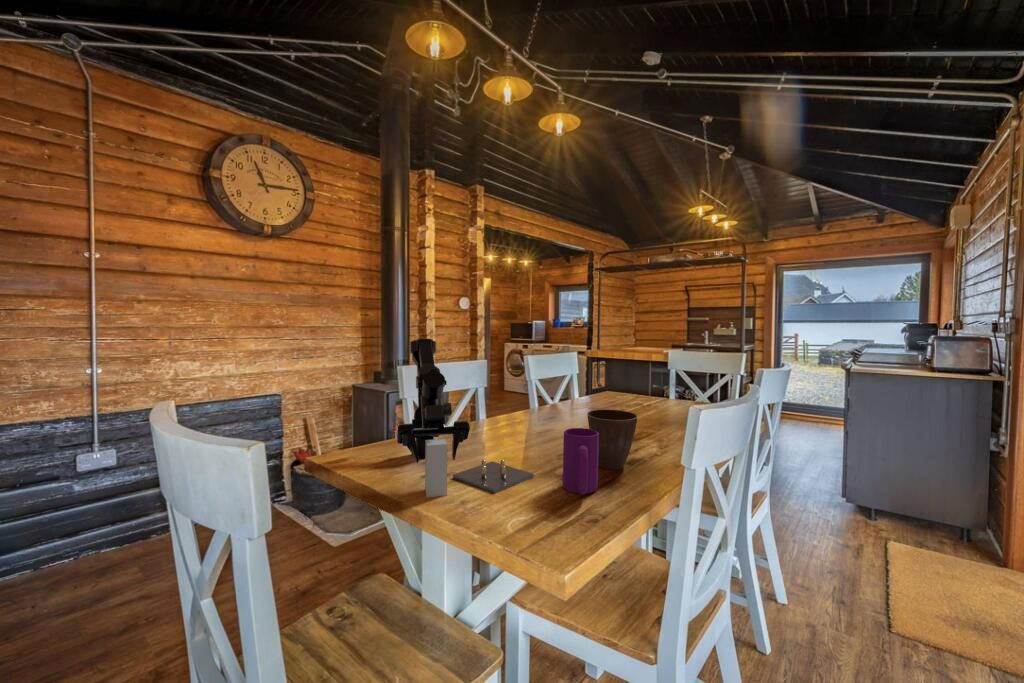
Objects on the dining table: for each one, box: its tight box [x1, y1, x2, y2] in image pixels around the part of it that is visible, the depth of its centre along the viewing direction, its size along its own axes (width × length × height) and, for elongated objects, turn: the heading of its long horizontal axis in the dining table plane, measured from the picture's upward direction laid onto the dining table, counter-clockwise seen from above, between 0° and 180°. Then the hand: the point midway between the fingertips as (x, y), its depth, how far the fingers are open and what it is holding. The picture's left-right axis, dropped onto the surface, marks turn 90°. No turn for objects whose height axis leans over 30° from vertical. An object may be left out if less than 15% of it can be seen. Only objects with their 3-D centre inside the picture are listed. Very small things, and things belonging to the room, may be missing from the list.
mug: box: [562, 427, 599, 495], centre depth 112 cm, size 9×16×15 cm, turn 176°
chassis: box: [452, 459, 534, 494], centre depth 122 cm, size 16×16×4 cm
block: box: [424, 438, 449, 498], centre depth 110 cm, size 5×5×13 cm
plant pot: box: [586, 409, 639, 471], centre depth 133 cm, size 15×15×16 cm
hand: (435, 460), depth 111 cm, fingers open, 9 cm apart
